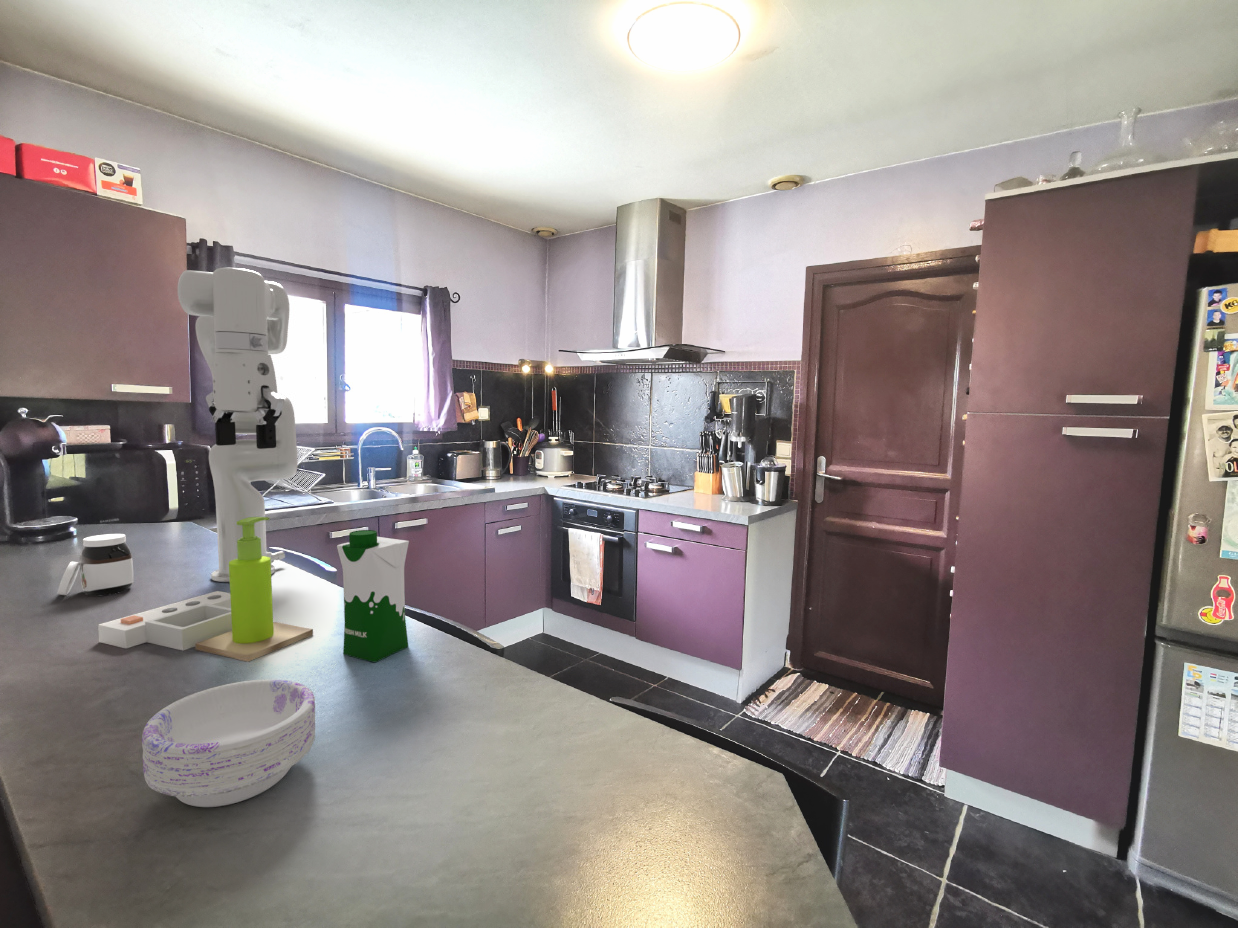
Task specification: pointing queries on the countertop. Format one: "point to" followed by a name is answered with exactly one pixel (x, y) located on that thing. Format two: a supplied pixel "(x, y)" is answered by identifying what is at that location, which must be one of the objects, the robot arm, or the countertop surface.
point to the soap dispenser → (251, 588)
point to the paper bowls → (228, 741)
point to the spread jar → (101, 566)
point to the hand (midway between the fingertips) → (246, 446)
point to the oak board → (251, 651)
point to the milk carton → (373, 595)
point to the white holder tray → (172, 623)
